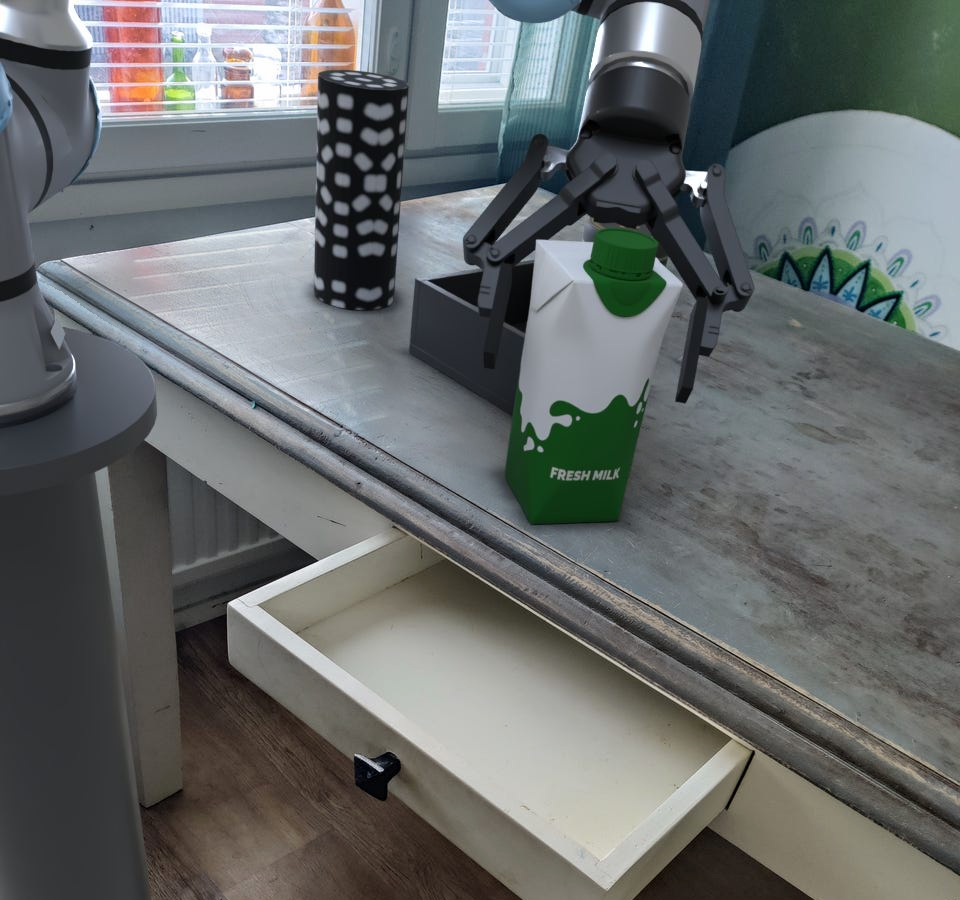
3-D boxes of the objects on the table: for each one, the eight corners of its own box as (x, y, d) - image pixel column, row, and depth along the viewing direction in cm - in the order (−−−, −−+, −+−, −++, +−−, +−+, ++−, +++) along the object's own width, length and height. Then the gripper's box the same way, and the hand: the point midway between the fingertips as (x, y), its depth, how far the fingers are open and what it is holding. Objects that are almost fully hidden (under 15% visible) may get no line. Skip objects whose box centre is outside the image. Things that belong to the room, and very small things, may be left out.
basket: (408, 352, 93) (414, 278, 89) (527, 327, 102) (538, 258, 98) (519, 420, 85) (532, 342, 80) (638, 386, 94) (655, 314, 89)
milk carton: (522, 532, 71) (573, 247, 58) (489, 469, 77) (528, 201, 65) (634, 528, 73) (706, 253, 61) (592, 467, 80) (649, 209, 67)
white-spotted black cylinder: (405, 292, 106) (421, 82, 93) (375, 316, 99) (388, 94, 87) (334, 275, 107) (340, 66, 95) (300, 298, 101) (302, 76, 88)
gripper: (797, 158, 73) (752, 428, 71) (468, 103, 75) (413, 368, 72) (830, 90, 66) (781, 389, 63) (465, 30, 67) (403, 322, 65)
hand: (585, 378), depth 68 cm, fingers open, 13 cm apart
